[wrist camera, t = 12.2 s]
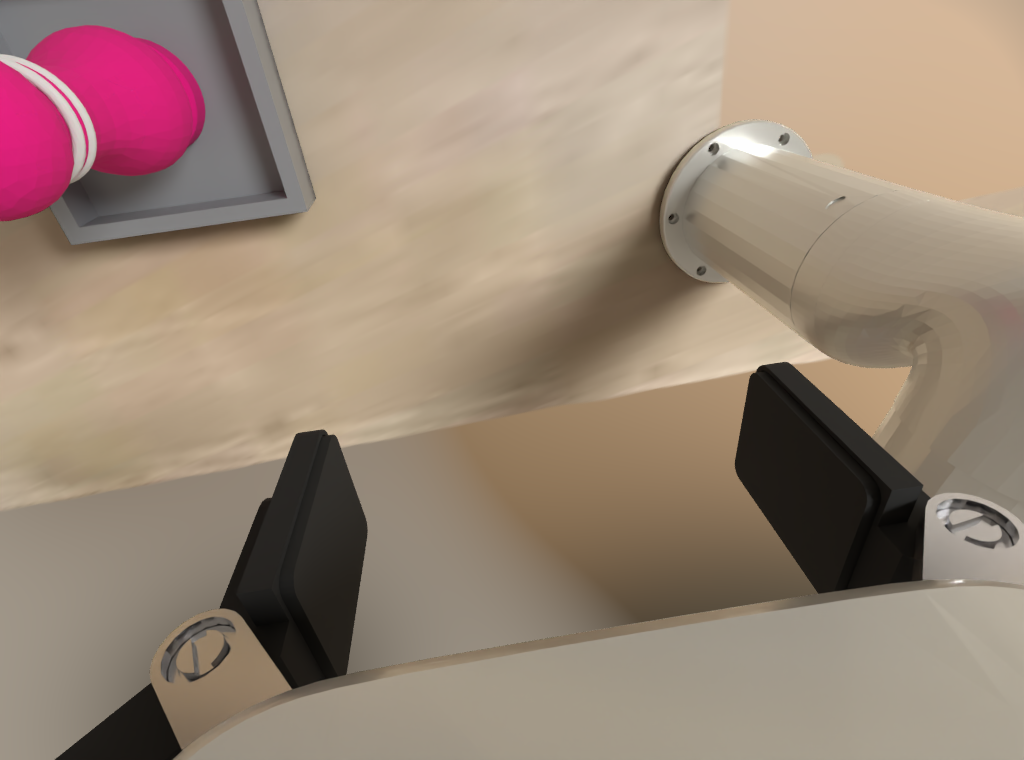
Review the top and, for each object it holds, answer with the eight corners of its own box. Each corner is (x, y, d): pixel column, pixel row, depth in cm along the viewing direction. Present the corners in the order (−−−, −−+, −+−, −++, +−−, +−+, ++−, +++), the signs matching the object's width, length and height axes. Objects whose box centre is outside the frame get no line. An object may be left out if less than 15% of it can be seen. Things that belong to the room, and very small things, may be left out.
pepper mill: (235, 147, 35) (67, 246, 18) (125, 171, 34) (-149, 293, 18) (178, 15, 31) (-107, -16, 14) (53, 40, 30) (-389, 40, 14)
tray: (234, -74, 30) (214, -87, 27) (316, 198, 38) (307, 211, 35) (-49, -45, 29) (-102, -55, 26) (98, 228, 37) (71, 245, 34)
